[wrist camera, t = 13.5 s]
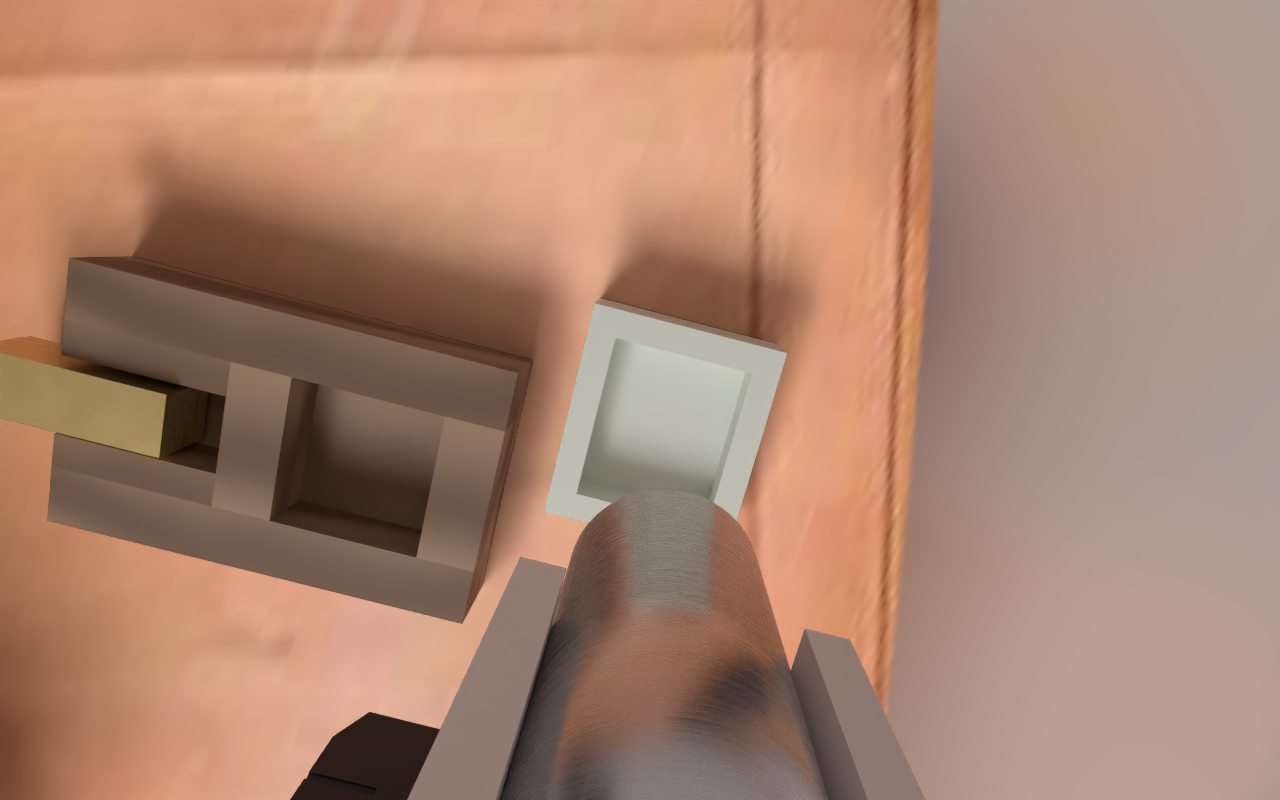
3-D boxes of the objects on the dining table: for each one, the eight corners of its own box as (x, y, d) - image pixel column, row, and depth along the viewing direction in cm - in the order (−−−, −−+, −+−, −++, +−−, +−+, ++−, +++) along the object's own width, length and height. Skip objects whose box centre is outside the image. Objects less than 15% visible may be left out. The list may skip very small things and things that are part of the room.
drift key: (30, 336, 28) (-31, 345, 25) (209, 381, 28) (166, 394, 26) (26, 395, 28) (-34, 409, 26) (202, 439, 28) (158, 457, 26)
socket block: (131, 256, 28) (69, 257, 25) (533, 359, 28) (517, 373, 25) (107, 494, 30) (47, 520, 27) (481, 587, 30) (461, 624, 28)
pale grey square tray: (600, 298, 28) (594, 303, 25) (776, 344, 28) (787, 353, 26) (553, 489, 29) (544, 511, 27) (720, 532, 30) (725, 557, 27)
